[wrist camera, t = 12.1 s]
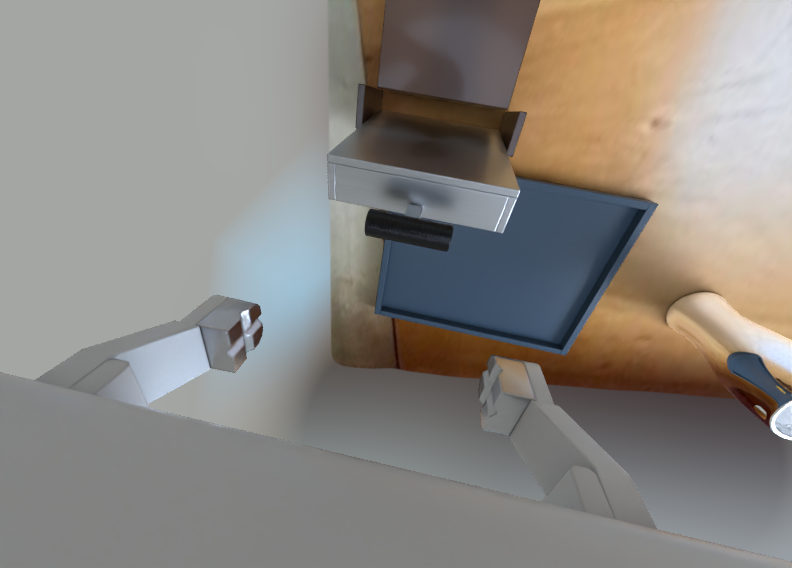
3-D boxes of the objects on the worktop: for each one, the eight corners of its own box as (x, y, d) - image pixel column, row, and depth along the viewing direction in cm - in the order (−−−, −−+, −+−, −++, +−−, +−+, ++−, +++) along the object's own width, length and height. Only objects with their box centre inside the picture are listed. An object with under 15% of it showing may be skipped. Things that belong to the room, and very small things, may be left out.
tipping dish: (380, 109, 30) (377, 143, 32) (302, 174, 16) (307, 228, 18) (499, 130, 29) (488, 164, 31) (530, 218, 15) (506, 269, 17)
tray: (376, 307, 45) (374, 313, 43) (398, 153, 33) (396, 155, 32) (561, 347, 43) (565, 355, 42) (649, 200, 32) (658, 204, 30)
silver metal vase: (664, 293, 37) (779, 391, 24) (735, 283, 35) (903, 384, 22) (658, 337, 40) (758, 444, 27) (723, 330, 38) (864, 442, 25)
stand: (374, 125, 32) (355, 128, 26) (387, -9, 27) (367, -47, 20) (500, 147, 32) (512, 156, 25) (540, 14, 26) (570, -18, 20)
